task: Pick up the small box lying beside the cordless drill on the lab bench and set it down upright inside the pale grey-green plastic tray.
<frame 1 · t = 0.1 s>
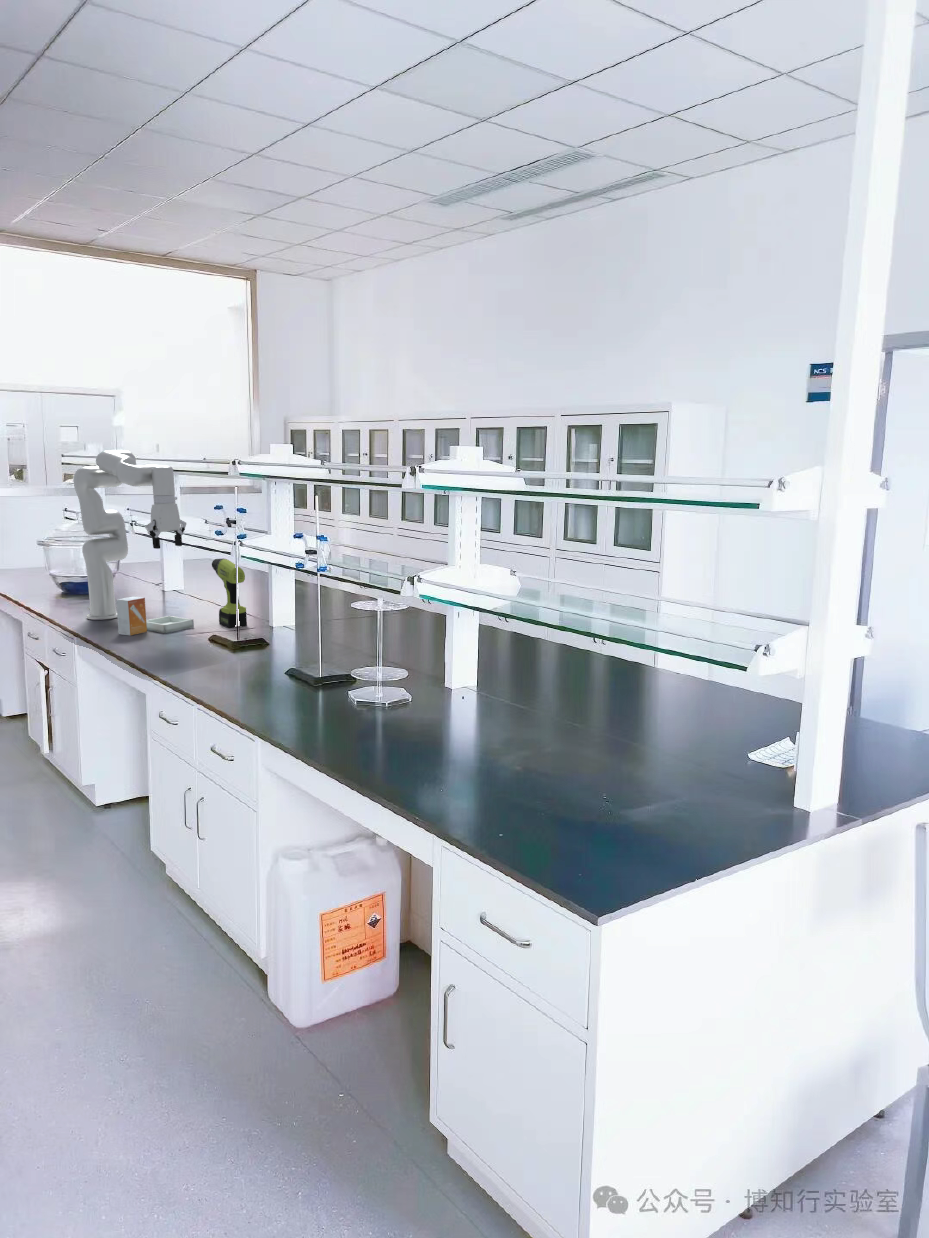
hand: (167, 547, 335), 31 cm above the countertop, tool pointing down, fingers open, 9 cm apart
small box: (133, 633, 336), on the countertop
tray: (167, 628, 345), on the countertop
cordless drill: (228, 623, 353), on the countertop
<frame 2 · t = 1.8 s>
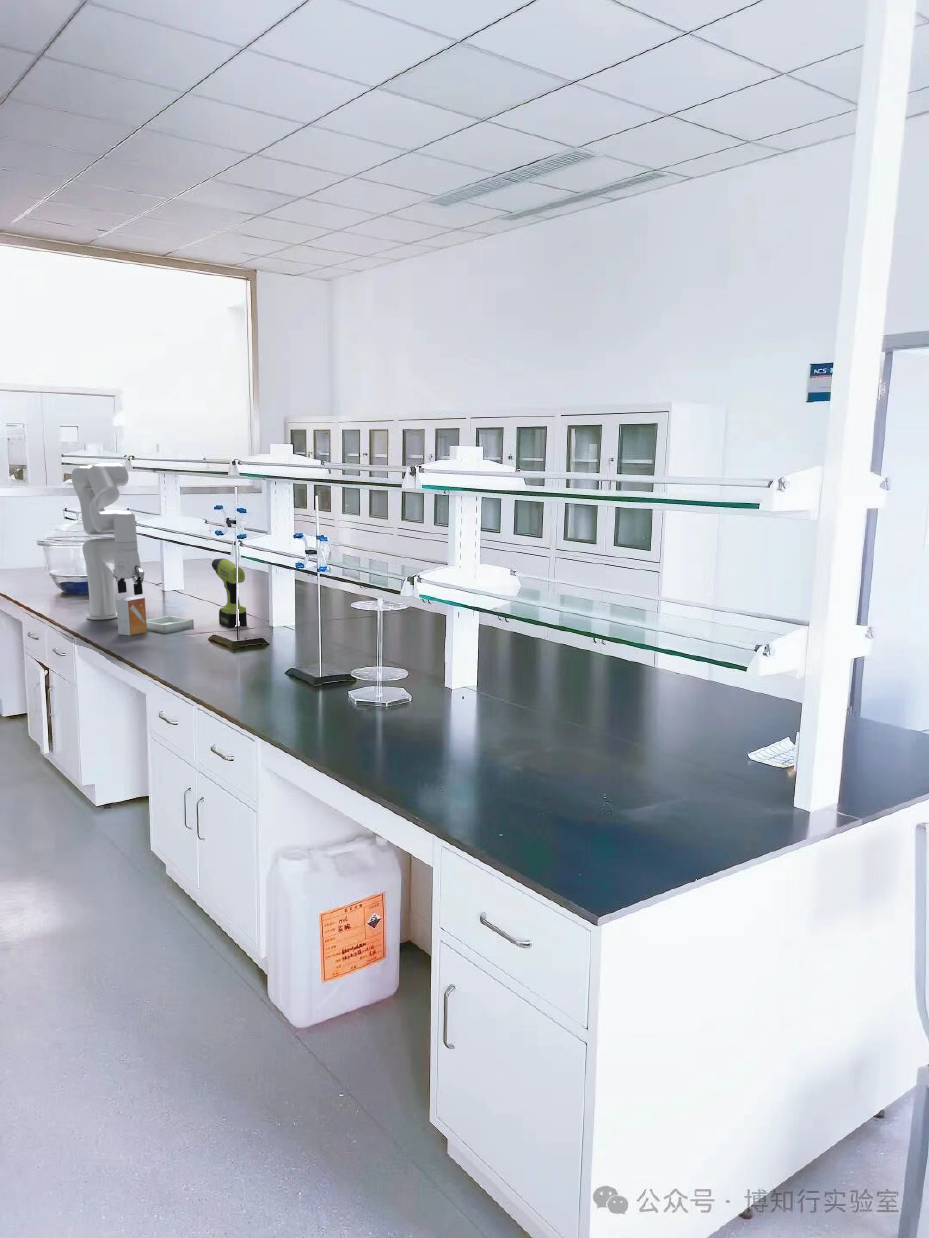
hand: (130, 593, 333), 15 cm above the countertop, tool pointing down, fingers open, 9 cm apart
nothing on the countertop moved.
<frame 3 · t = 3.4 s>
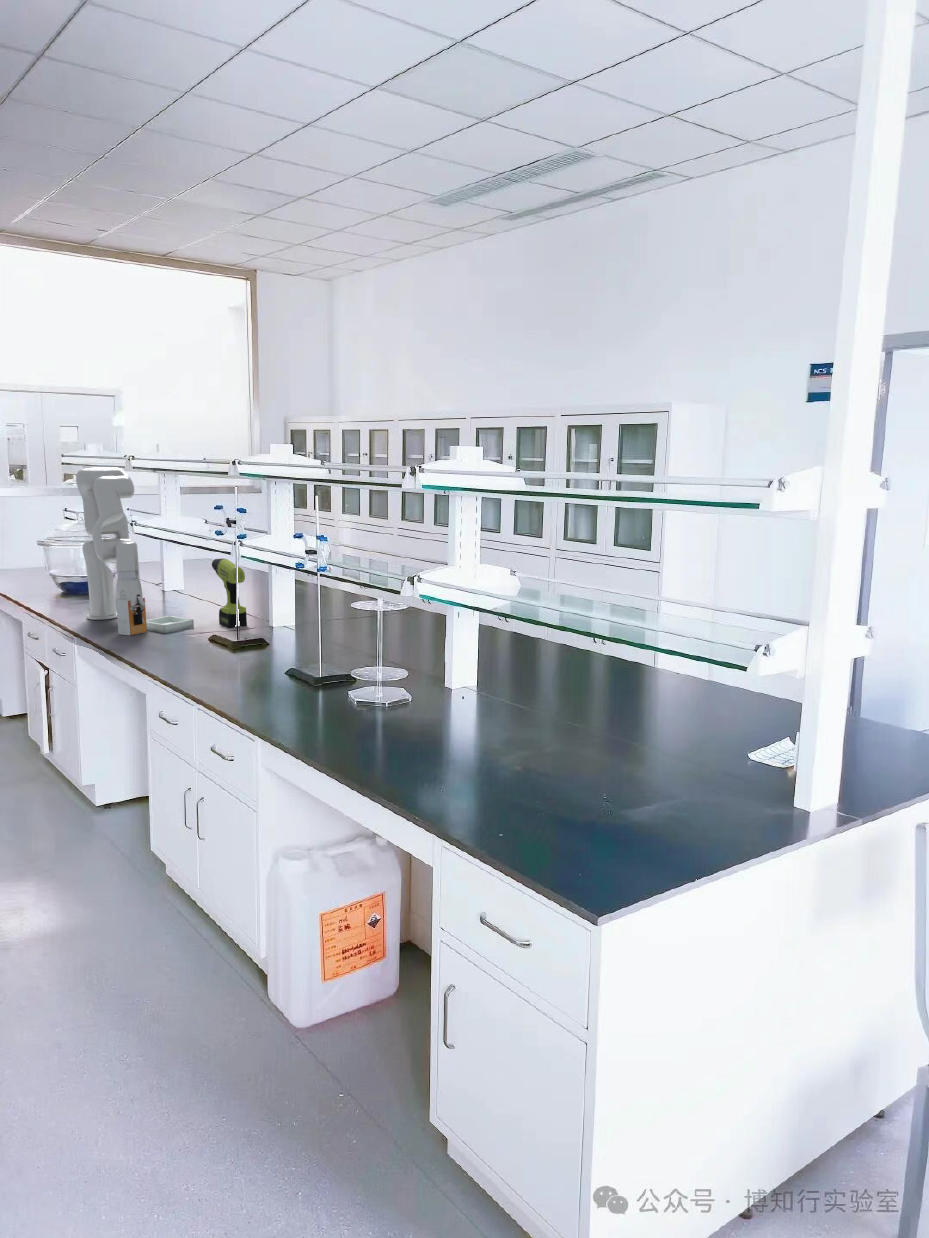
hand: (132, 623, 336), 4 cm above the countertop, tool pointing down, fingers closed on small box, 6 cm apart
small box: (133, 633, 336), on the countertop, touching gripper
everything else where it was.
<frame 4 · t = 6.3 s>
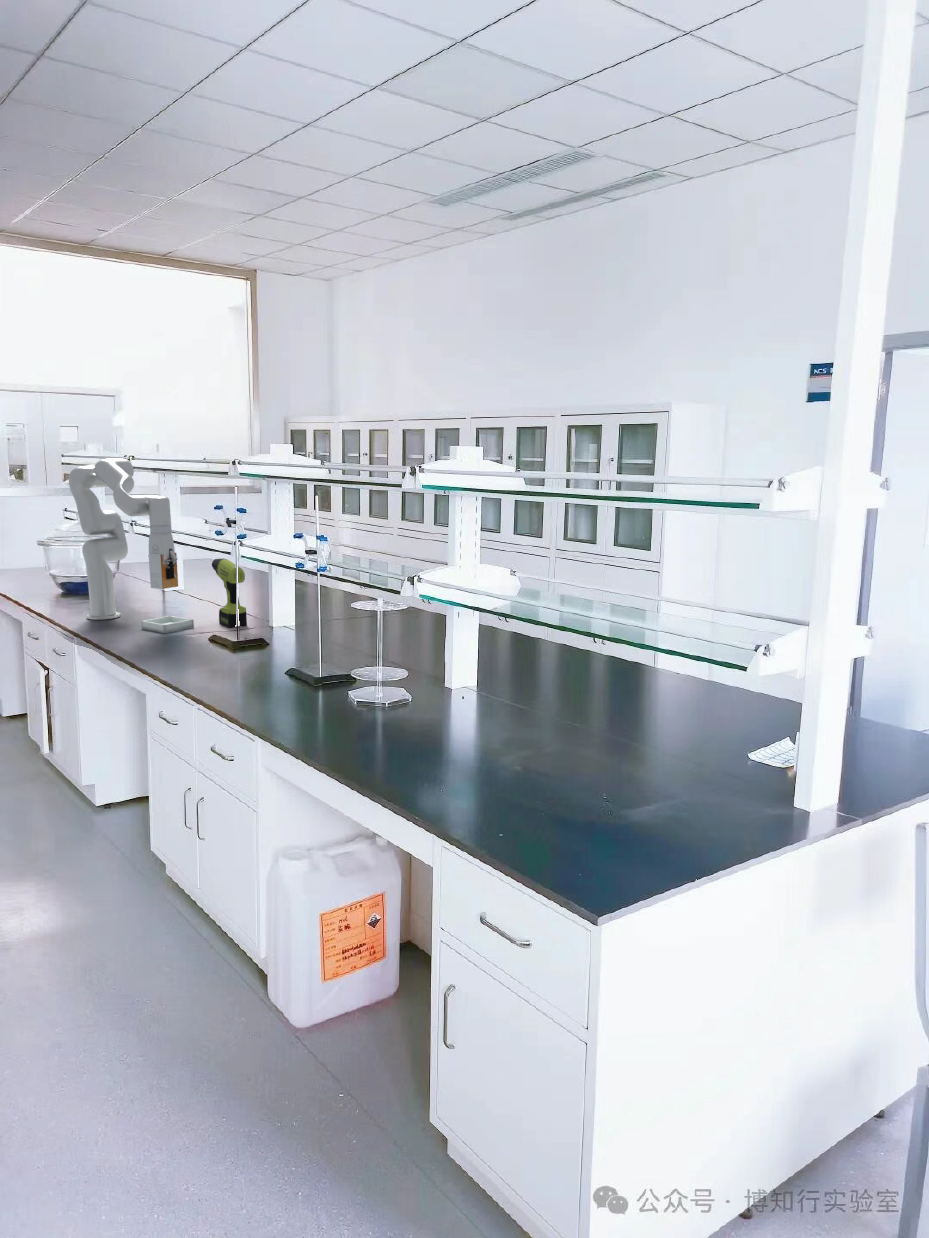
hand: (164, 577, 341), 19 cm above the countertop, tool pointing down, fingers closed on small box, 6 cm apart
small box: (164, 588, 342), point 15 cm above the countertop, touching gripper
everything else where it was.
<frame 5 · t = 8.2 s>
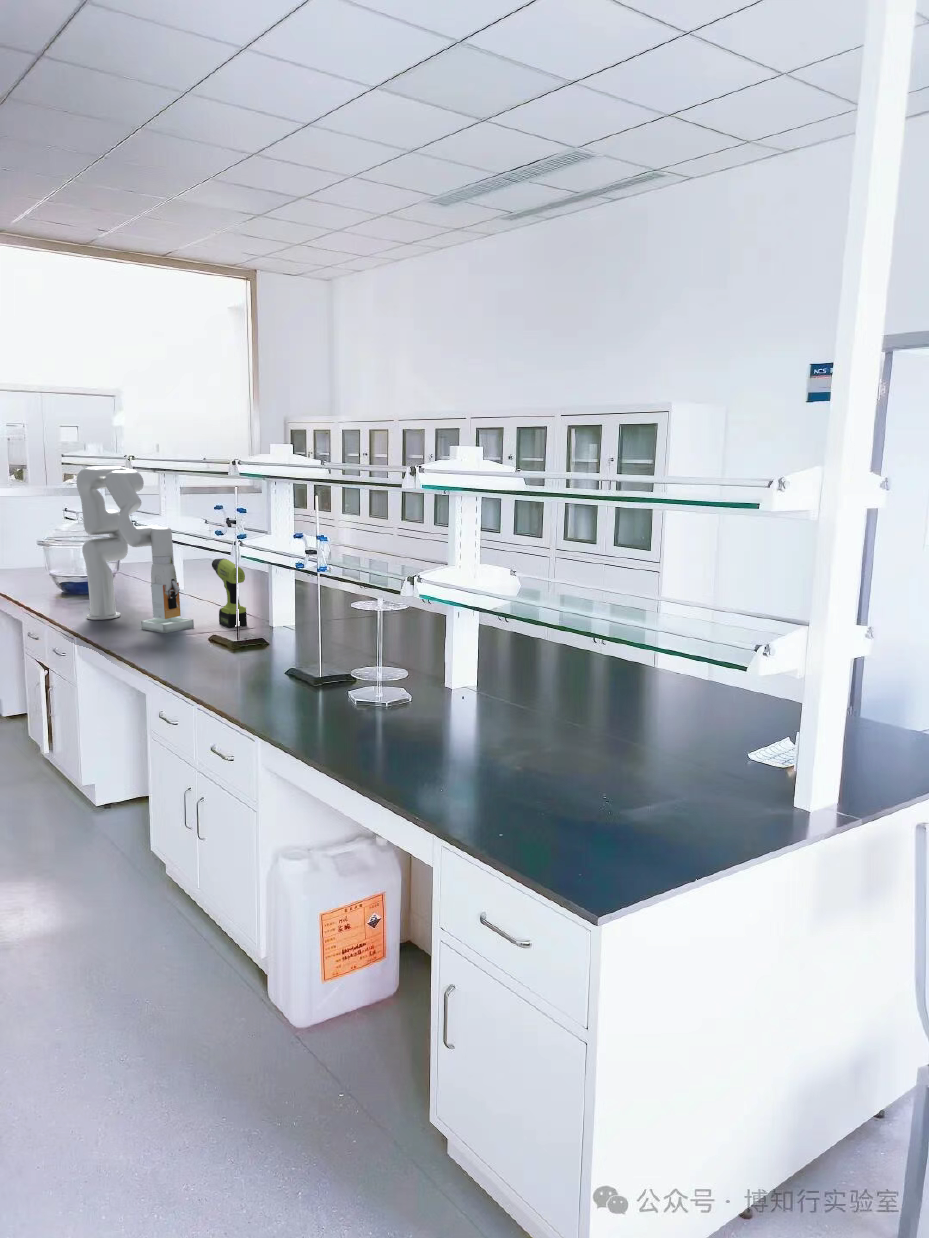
hand: (166, 607, 343), 8 cm above the countertop, tool pointing down, fingers closed on small box, 6 cm apart
small box: (167, 617, 344), point 4 cm above the countertop, touching gripper
everything else where it was.
when the fingers open (6 cm above the countertop, at t = 9.6 s): small box drops 1 cm, resting on tray.
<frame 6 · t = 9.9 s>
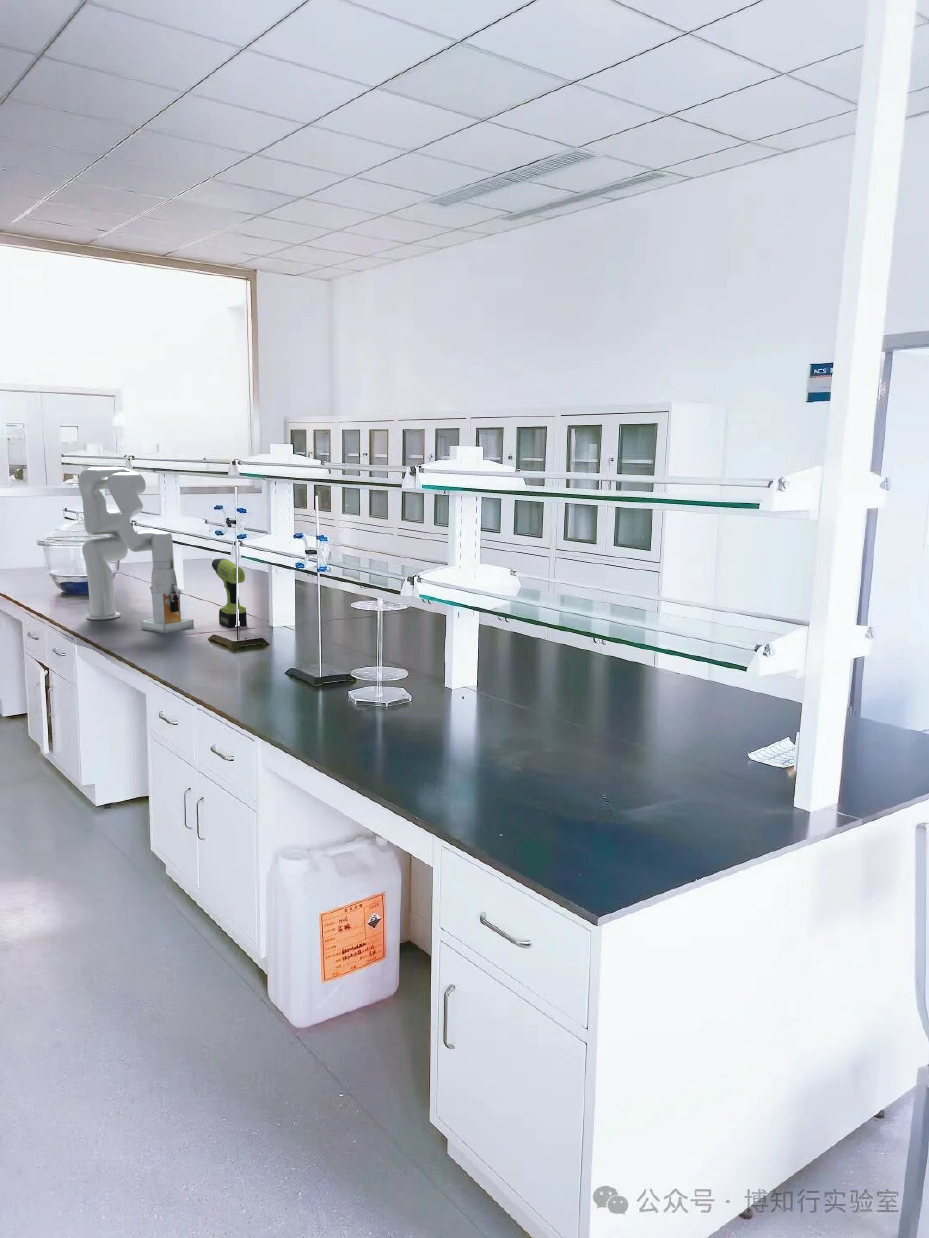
hand: (166, 610, 344), 7 cm above the countertop, tool pointing down, fingers open, 9 cm apart
small box: (167, 625, 345), point 1 cm above the countertop, touching tray
everything else where it was.
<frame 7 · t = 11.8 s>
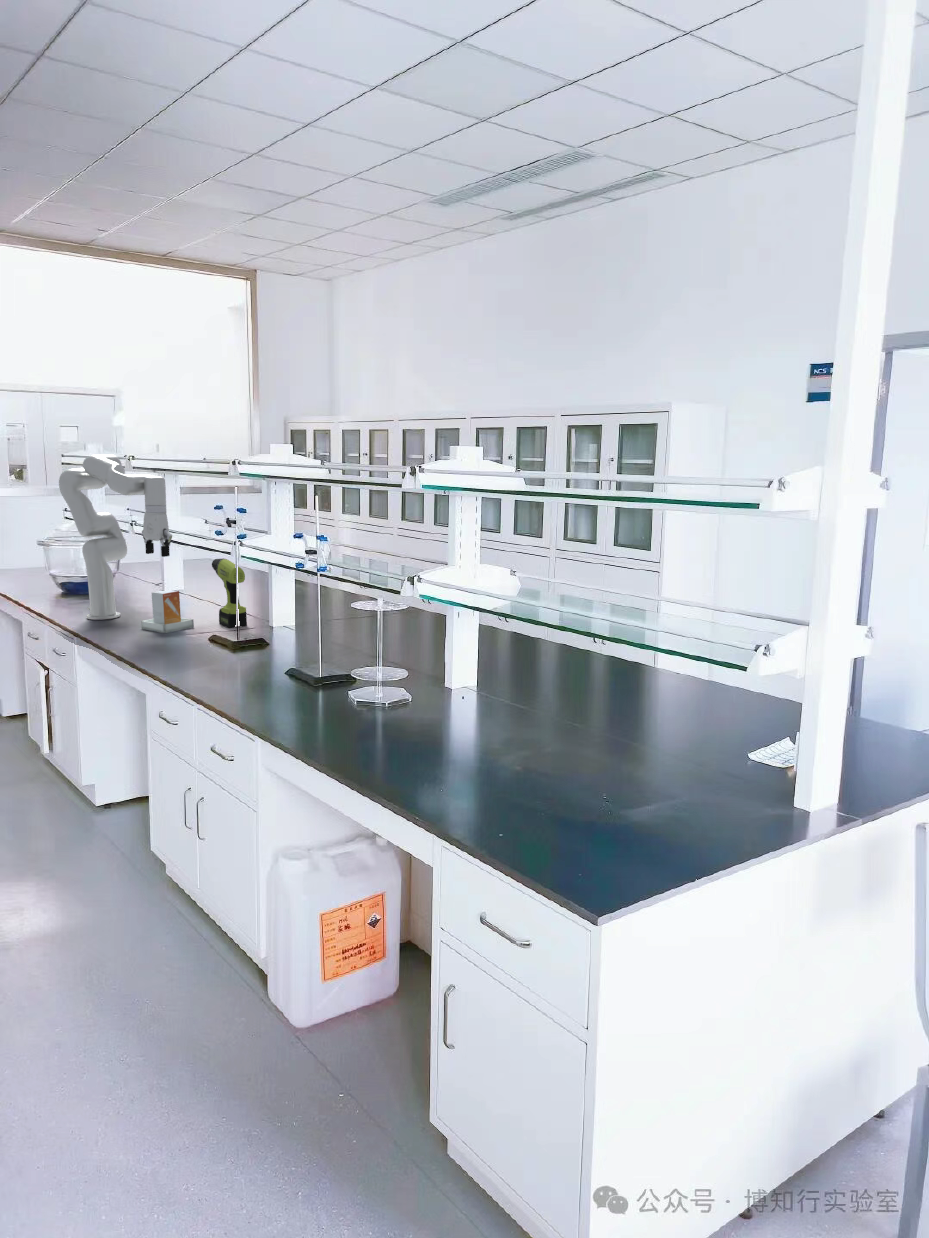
hand: (157, 554, 345), 27 cm above the countertop, tool pointing down, fingers open, 9 cm apart
nothing on the countertop moved.
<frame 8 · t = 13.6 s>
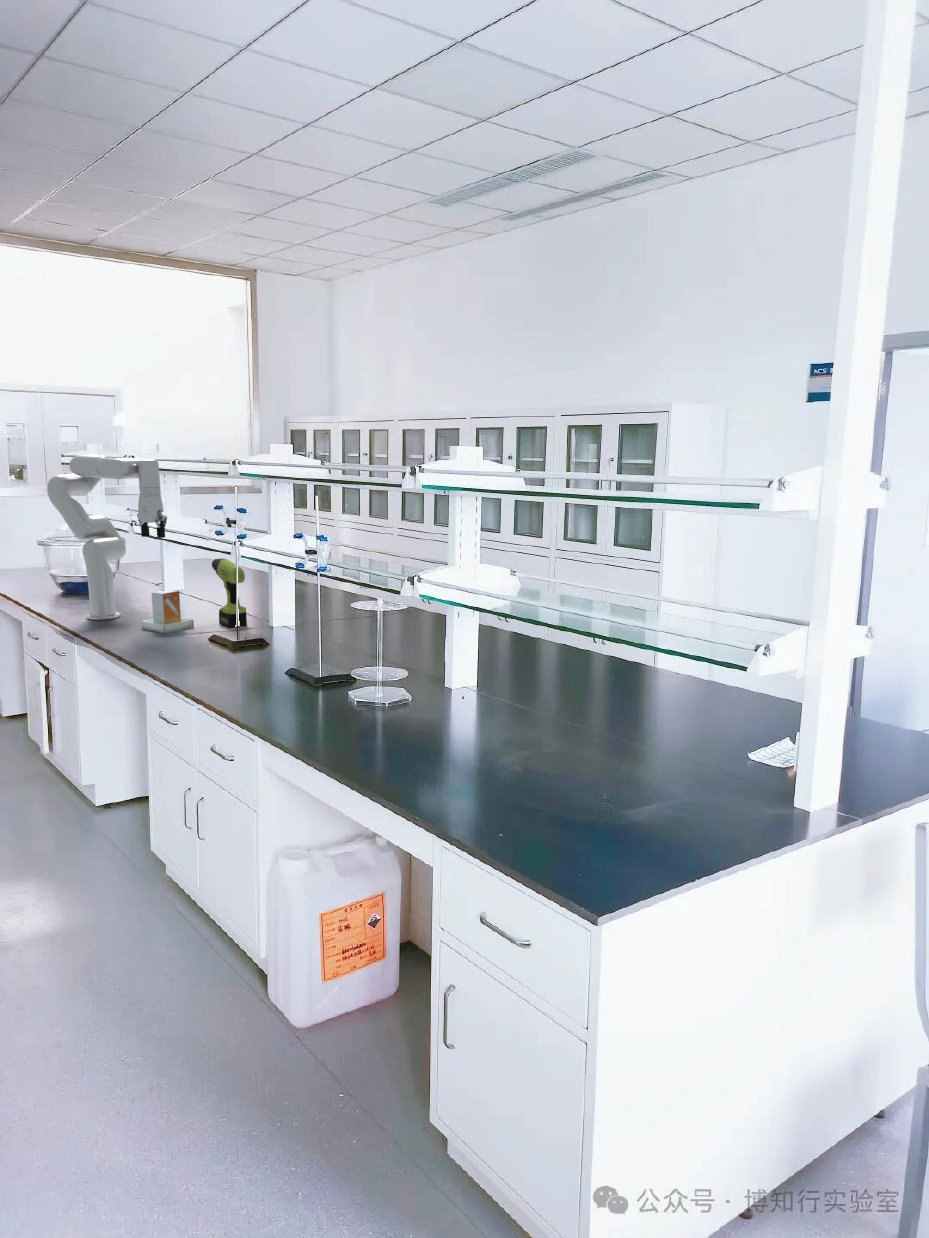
hand: (153, 537, 349), 33 cm above the countertop, tool pointing down, fingers open, 9 cm apart
nothing on the countertop moved.
at the end: small box inside the target area on the tray (0.1 cm from its centre), point 0.8 cm above the tray's base; small box tilted 0°; the gripper is holding nothing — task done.
